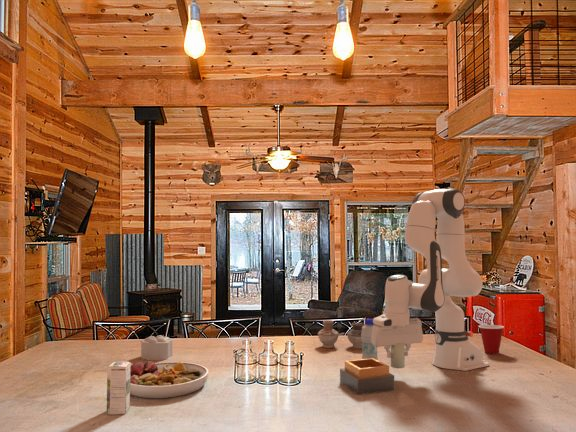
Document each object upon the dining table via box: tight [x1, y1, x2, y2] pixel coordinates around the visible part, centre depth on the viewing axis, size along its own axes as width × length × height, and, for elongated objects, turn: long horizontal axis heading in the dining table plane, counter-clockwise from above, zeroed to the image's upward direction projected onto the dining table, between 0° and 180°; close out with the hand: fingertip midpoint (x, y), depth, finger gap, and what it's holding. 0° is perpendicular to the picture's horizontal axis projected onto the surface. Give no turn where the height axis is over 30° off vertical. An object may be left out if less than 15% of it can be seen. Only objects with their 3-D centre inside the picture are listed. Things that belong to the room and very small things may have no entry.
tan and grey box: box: [339, 358, 395, 395], centre depth 179 cm, size 14×14×8 cm
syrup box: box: [106, 361, 132, 416], centre depth 156 cm, size 6×6×14 cm
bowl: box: [130, 360, 209, 399], centre depth 180 cm, size 30×30×8 cm
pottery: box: [317, 320, 365, 350], centre depth 237 cm, size 11×25×12 cm, turn 86°
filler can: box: [390, 343, 406, 369], centre depth 188 cm, size 5×5×11 cm
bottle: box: [361, 318, 379, 361], centre depth 200 cm, size 7×7×20 cm
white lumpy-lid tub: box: [140, 334, 174, 361], centre depth 221 cm, size 10×13×9 cm
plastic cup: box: [478, 324, 505, 355], centre depth 226 cm, size 11×11×12 cm
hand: (397, 356), depth 188 cm, fingers closed on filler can, 5 cm apart
